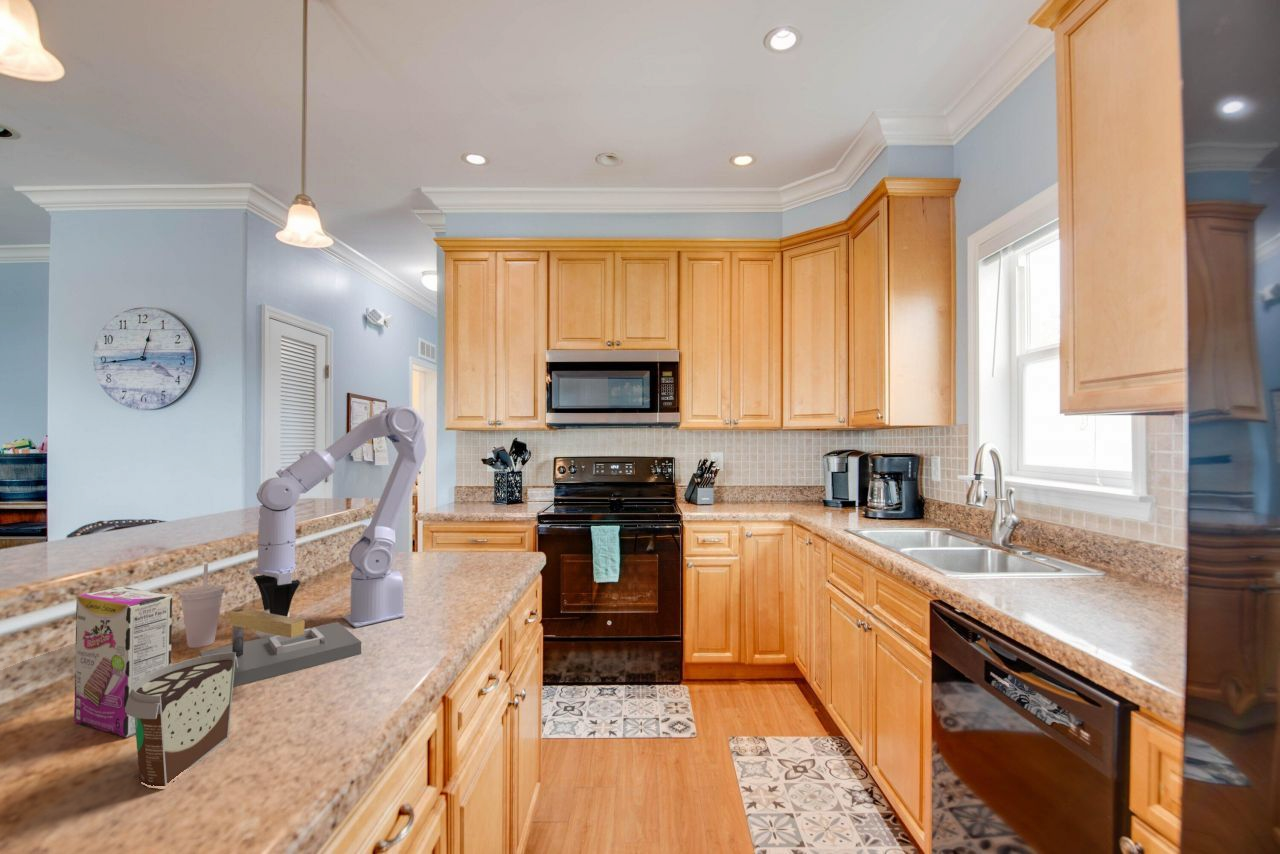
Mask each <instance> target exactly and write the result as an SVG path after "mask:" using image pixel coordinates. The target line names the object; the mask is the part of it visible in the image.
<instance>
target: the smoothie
mask: <svg viewBox="0 0 1280 854" xmlns="http://www.w3.org/2000/svg"><path fill="white" fill-rule="evenodd" d="M208 572H209V564H208V563H205V564H203V585H200V586H195V587H189V588H186V589H184V590H180V591H179V594H178V599H179V600H181V607H182V614H183V621H184V628H185V630H184V631H185V636H186V642H187V643H186V645H187V648H190V649H195V648H203V647H206V646H210V645H212V644H214V643H215V640H216V636H217V629H218V624H219V616H220V611H221V605H222V600H223V599H222V598H223V594H224V593H226V590H225V589H226V586H225V585H223V584H209V585H208V582H209V581H208V580H209V579H208V577H209V576H208V574H209V573H208Z"/></svg>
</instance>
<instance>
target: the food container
mask: <svg viewBox="0 0 1280 854" xmlns="http://www.w3.org/2000/svg"><path fill="white" fill-rule="evenodd" d="M235 668H238V661H237V657H236V652H232V653H220V654H213V655H207V656H202V657H200V656H197V657H193V658H191V659H185V660H182V661H179V662H176V663H173V664H172V663H171V665H169V666H166V667H163V668H161V669H158V670H156V671H154V672H152V673H150V674H148V675H146V676H144V677H143V678H141V679H140V680H138V681H137V682H136V683H135V685H134V687H133V689H132V690H131V692H130V694H129V697H128V700H127V704H126V707H125V712H126V713H127V714H128V715H130V716H132V717H134V718H135V730H136V734H135V740H136V742H135V743H136V751H137V752H136V753H137V763H138V765H137V766H138V773H139V774H138V775H139V781H140V780H141V782H143V783H145V784H147V785H151V786H153V785H154V786H166V785H167V783H169V782H170V781H171V780H172V779H174V778H175V777H176V776H178V775H179V774H180V773H181V772H183V771H184V770H186V769H189V768H190V767H192V766H193V765H195V764H196V763H197V762H199V761H200V760H201V759H202V758H204V757H205V756H206V755H207V756H208V754H209V753H210V754H211V753H212V752H214V751H215V750H216V749H218V748H219V747H220V746H221V745H222V744H223V743H224V742H226V741H227V740H228V739H229V736H230V724H231V715H232V713H231V711H232V702H233V700H232V699H233V692H234V691H233V689H234V687H233V681H234V670H235ZM210 754H209V755H210ZM207 756H206V757H207ZM206 757H205V758H206ZM202 760H203V759H202ZM202 760H201V761H202ZM201 761H200V762H201ZM200 762H199V763H200ZM197 764H198V763H197ZM197 764H196V765H197ZM196 765H195V766H196ZM192 768H193V767H192Z"/></svg>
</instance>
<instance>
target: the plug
mask: <svg viewBox="0 0 1280 854" xmlns="http://www.w3.org/2000/svg"><path fill="white" fill-rule="evenodd" d="M289 611H290V609H289ZM261 612H266V613H270V610H269V609H267V610H264V609H263V610H261ZM287 617H290V612H289V613H288V616H287ZM254 631H255V637H257V638H259V639H261V638H265V637H270V636H275V634H270V633H265V632H261V631H256V630H254Z"/></svg>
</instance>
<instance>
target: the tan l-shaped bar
mask: <svg viewBox="0 0 1280 854" xmlns="http://www.w3.org/2000/svg"><path fill="white" fill-rule="evenodd" d="M228 624H229V626H232V641H231V642H232V644H231V645H232V652H236V657H237V656H241V655H243V642H245V641H244V637H245V636H244V634H245V633H244V631H245V629H249V630H253V631H255V630H256V631H261V632H265V633H270V634H275V635H279V636H284V637H289V638H293V637H295V636H298V635H301V634H304V629H306V628H305V626H306V625H305V619H302V618H296V617H290V616H289V617H286V616H281V615H276V614H271V613H266V612H262V611H260V610H255V609H249V608H244V607H243V608H239V609H235V610H232V611H230V612H229V622H228Z"/></svg>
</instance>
